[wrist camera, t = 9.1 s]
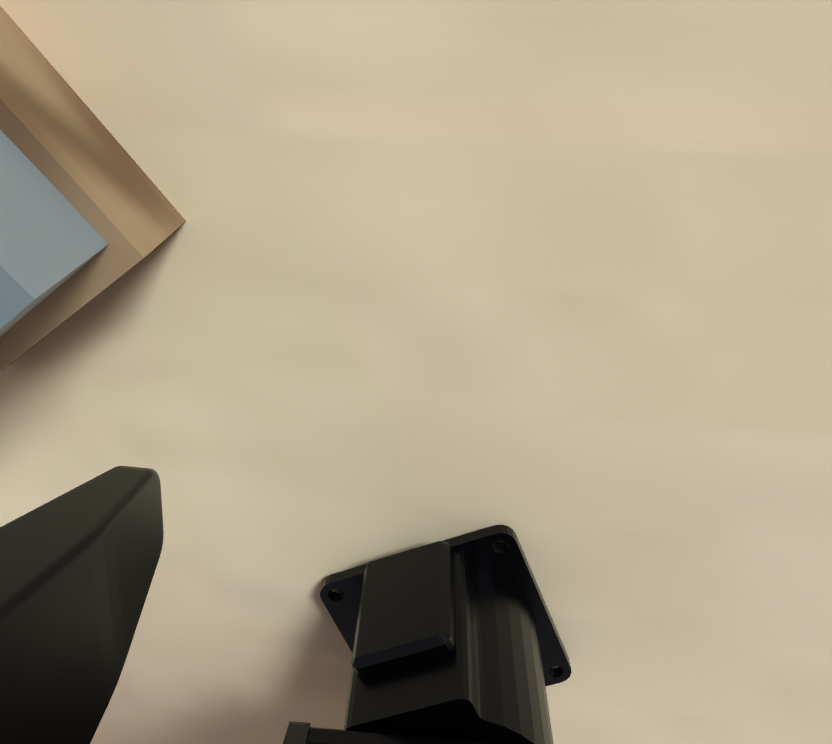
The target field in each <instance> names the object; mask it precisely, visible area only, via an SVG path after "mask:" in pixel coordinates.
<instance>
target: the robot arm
mask: <svg viewBox="0 0 832 744" xmlns="http://www.w3.org/2000/svg"><path fill="white" fill-rule="evenodd" d="M497 540H505V541H507V542H506V543H504V544H502V545H498V544H495V543H494V542H495V541H497ZM162 544H163V516H162V501H161V485H160V479H159V476H158V474H157V472H156V471H155V470H153V469H148V468H138V467H127V466H118V467H115V468H113V469H111V470H109V471H107V472H105V473H103V474H101V475H99V476H97V477H95V478H93V479H92V480H90V481H88V482H86V483H84V484H82V485H80V486H78V487H76V488H74V489H73V490H71V491H69V492H67V493H65V494H63V495H61V496H59V497H57V498H55V499H53V500H52V501H50V502H48V503H46V504H44V505H42V506H40V507H38V508H36V509H34V510H33V511H31V512H29V513H27V514H25V515H23V516H21V517H19V518H17V519H15V520H14V521H12V522H10V523H8V524H6V525H4V526H2V527H0V744H90V742H91V740H92V738H93V736H94V734H95V732H96V730H97V727H98V725H99V723H100V721H101V719H102V717H103V714H104V712H105V710H106V708H107V706H108V704H109V701H110V699H111V697H112V694H113V692H114V690H115V687H116V685H117V683H118V680H119V677H120V674H121V672H122V669H123V666H124V663H125V660H126V657H127V654H128V651H129V648H130V645H131V642H132V639H133V636H134V633H135V630H136V627H137V624H138V621H139V618H140V615H141V612H142V609H143V606H144V603H145V600H146V597H147V594H148V591H149V588H150V585H151V582H152V579H153V576H154V573H155V569H156V566H157V563H158V560H159V557H160V554H161V550H162ZM332 589H339V590H341V591H342V592H340V593H336V592H333V591H332ZM320 596H321V599H322V601H323V603H324V605H325V606H326V608H327V610H328V611H329V613H330V615H331V617H332V618H333V620H334V622H335V624H336V625H337V627H338V629H339V630H340V632H341V634H342V636H343V637H344V639H345V641H346V643H347V644H348V646H349V648H350V649H351V651H352V653H353V655H352V667H353V668H352V675H351V682H350V690H349V697H348V704H347V711H346V719H345V726H344V730H338V729H326V728H314V727H311V723H303V722H291V721H290V722H289V726H288V729H287V732H286V735H285V739H284V742H283V744H553V737H552V730H551V723H550V716H549V709H548V702H547V695H546V688H545V686H549V685H552V684H556V683H560V682H563V681H565V680H567V679H568V678H569V677H570V675H571V667H570V661H569V658H568V655H567V653H566V651H565V648H564V646H563V644H562V641H561V639H560V637H559V634H558V632H557V630H556V627H555V625H554V623H553V620H552V618H551V616H550V613H549V611H548V609H547V606H546V604H545V601H544V599H543V597H542V594H541V592H540V590H539V587H538V585H537V583H536V580H535V578H534V576H533V573H532V571H531V569H530V566H529V564H528V562H527V559H526V557H525V555H524V552H523V550H522V548H521V545H520V543H519V541H518V538H517V536H516V534H515V532H514V531H513V529H511V528H510V527H508V526H505V525H495V526H492V527H488V528H485V529H482V530H478V531H475V532H472V533H468V534H465V535H462V536H458V537H455V538H452V539H449V540H445V541H442V542H441V541H439V542H435V543H432V544H428V545H425V546H422V547H419V548H415V549H412V550H409V551H405V552H402V553H399V554H395V555H392V556H389V557H385V558H382V559H379V560H375V561H372V562H370V563H368V564H366V565H362V566H359V567H356V568H352V569H349V570H346V571H343V572H339V573H336V574H333V575H330V576H328V577H326V578H325V579H324V581H323V583H322V588H321V592H320ZM554 666H559V667H558V668H552V667H554Z"/></svg>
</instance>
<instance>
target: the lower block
mask: <svg viewBox="0 0 832 744" xmlns="http://www.w3.org/2000/svg"><path fill="white" fill-rule="evenodd" d="M0 129H1V131H2V132H3V133H4V134H5V135H6V136H7V137H8V138H9V139H10V140H11V141H12V142H13V143H14V144H15V145H16V146H17V147H18V148H19V150H20V151H21V152H22V153H23V154H24V155H25V156H26V157H27V158H28V159H29V160H30V161H31V162H32V163H33V164H34V165H35V166H36V167H37V169H38V170H39V171H40V172H41V173H42V174H43V175H44V176H45V177H46V178H47V179H48V180H49V181H50V182H51V183H52V184H53V185H54V186H55V188H56V189H57V190H58V191H59V192H60V193H61V194H62V195H63V196H64V197H65V198H66V199H67V200H68V201H69V202H70V203H71V204H72V205H73V207H74V208H75V209H76V210H77V211H78V212H79V213H80V214H81V215H82V216H83V217H84V218H85V219H86V220H87V221H88V222H89V223H90V224H91V226H92V227H93V228H94V229H95V230H96V231H97V232H98V233H99V234H100V235H101V236H102V237H103V238H104V239H105V240H106V241H107V242H108V243H109V244H108V245H107V246H106V247H105V248H104V249H102V250H101V251H100V252H99V253H98V254H97V255H95V256H94V257H93V258H92V259H91V260H90V261H88V262H87V263H86V264H85V265H84V266H83V267H81V268H80V269H79V270H78V271H77V272H76V273H74V274H73V275H72V276H71V277H70V278H69V279H67V280H66V281H65V282H64V283H63V284H62V285H60V286H59V287H58V288H57V289H56V290H55V291H54V292H52V293H51V294H50V295H49V296H48V297H47V298H45V299H44V300H43V301H42V302H41V303H40V304H38V305H37V306H36V307H35V308H34V309H33V310H31V311H30V312H29V313H28V314H27V315H26V316H24V317H23V318H22V319H21V320H20V321H19V322H17V323H16V324H15V325H14V326H13V327H12V328H10V329H9V330H8V331H7V332H6V333H5V334H4V335H2V336H1V337H0V372H1V371H2V370H3V369H5V368H6V367H7V366H8V365H10V364H11V363H12V362H13V361H15V360H16V359H17V358H18V357H20V356H21V355H22V354H23V353H25V352H26V351H27V350H29V349H30V348H31V347H32V346H34V345H35V344H36V343H37V342H39V341H40V340H41V339H42V338H44V337H45V336H46V335H47V334H49V333H50V332H51V331H52V330H54V329H55V328H56V327H58V326H59V325H60V324H61V323H63V322H64V321H65V320H66V319H68V318H69V317H70V316H71V315H73V314H74V313H75V312H76V311H78V310H79V309H80V308H81V307H83V306H84V305H85V304H87V303H88V302H89V301H90V300H92V299H93V298H94V297H95V296H97V295H98V294H99V293H100V292H102V291H103V290H104V289H105V288H107V287H108V286H109V285H110V284H112V283H113V282H114V281H116V280H117V279H118V278H119V277H121V276H122V275H123V274H124V273H126V272H127V271H128V270H129V269H131V268H132V267H133V266H134V265H136V264H137V263H138V262H139V261H141V260H142V259H143V258H144V257H146V256H147V255H148V254H149V253H150V252H151V251H152V250H154V249H155V248H156V247H157V246H158V245H159V244H160V243H162V242H163V241H164V240H165V239H166V238H167V237H168V236H170V235H171V234H172V233H173V232H174V231H175V230H176V229H177V228H179V227H180V226H181V225H182V224H183V223H184V222H185V221H186V220H185V219H184V218H183V217H182V216H181V215H180V213H179V212H178V211H177V210H176V209H175V208H174V207H173V205H172V204H171V203H170V202H169V201H168V200H167V198H166V197H165V196H164V195H163V194H162V193H161V191H160V190H159V189H158V188H157V187H156V186H155V185H154V183H153V182H152V181H151V180H150V179H149V178H148V176H147V175H146V174H145V173H144V172H143V171H142V169H141V168H140V167H139V166H138V165H137V164H136V162H135V161H134V160H133V159H132V158H131V157H130V156H129V154H128V153H127V152H126V151H125V150H124V149H123V147H122V146H121V145H120V144H119V143H118V142H117V140H116V139H115V138H114V137H113V136H112V135H111V134H110V132H109V131H108V130H107V129H106V128H105V127H104V125H103V124H102V123H101V122H100V121H99V120H98V118H97V117H96V116H95V115H94V114H93V113H92V111H91V110H90V109H89V108H88V107H87V106H86V105H85V103H84V102H83V101H82V100H81V99H80V98H79V96H78V95H77V94H76V93H75V92H74V91H73V89H72V88H71V87H70V86H69V85H68V84H67V83H66V81H65V80H64V79H63V78H62V77H61V76H60V74H59V73H58V72H57V71H56V70H55V69H54V67H53V66H52V65H51V64H50V63H49V62H48V60H47V59H46V58H45V57H44V56H43V55H42V54H41V52H40V51H39V50H38V49H37V48H36V47H35V45H34V44H33V43H32V42H31V41H30V40H29V38H28V37H27V36H26V35H25V34H24V33H23V32H22V30H21V29H20V28H19V27H18V26H17V25H16V23H15V22H14V21H13V20H12V19H11V18H10V16H9V15H8V14H7V13H6V12H5V11H4V10H3V8H2V7H1V6H0Z"/></svg>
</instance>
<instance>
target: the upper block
mask: <svg viewBox="0 0 832 744" xmlns="http://www.w3.org/2000/svg"><path fill="white" fill-rule="evenodd" d="M108 244H109V243H108V242H107V241H106V240H105V239H104V238H103V237H102V236H101V235H100V234H99V233H98V232H97V231H96V230H95V229H94V228H93V227H92V226H91V224H90V223H89V222H88V221H87V220H86V219H85V218H84V217H83V216H82V215H81V214H80V213H79V212H78V211H77V210H76V209H75V208H74V207H73V205H72V204H71V203H70V202H69V201H68V200H67V199H66V198H65V197H64V196H63V195H62V194H61V193H60V192H59V191H58V190H57V189H56V188H55V186H54V185H53V184H52V183H51V182H50V181H49V180H48V179H47V178H46V177H45V176H44V175H43V174H42V173H41V172H40V171H39V170H38V169H37V167H36V166H35V165H34V164H33V163H32V162H31V161H30V160H29V159H28V158H27V157H26V156H25V155H24V154H23V153H22V152H21V151H20V150H19V148H18V147H17V146H16V145H15V144H14V143H13V142H12V141H11V140H10V139H9V138H8V137H7V136H6V135H5V134H4V133H3V132H2V131H1V129H0V337H1V336H2V335H4V334H5V333H6V332H7V331H8V330H9V329H10V328H12V327H13V326H14V325H15V324H16V323H17V322H19V321H20V320H21V319H22V318H23V317H24V316H26V315H27V314H28V313H29V312H30V311H31V310H33V309H34V308H35V307H36V306H37V305H38V304H40V303H41V302H42V301H43V300H44V299H45V298H47V297H48V296H49V295H50V294H51V293H52V292H54V291H55V290H56V289H57V288H58V287H59V286H60V285H62V284H63V283H64V282H65V281H66V280H67V279H69V278H70V277H71V276H72V275H73V274H74V273H76V272H77V271H78V270H79V269H80V268H81V267H83V266H84V265H85V264H86V263H87V262H88V261H90V260H91V259H92V258H93V257H94V256H95V255H97V254H98V253H99V252H100V251H101V250H102V249H104V248H105V247H106V246H107V245H108Z"/></svg>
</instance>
